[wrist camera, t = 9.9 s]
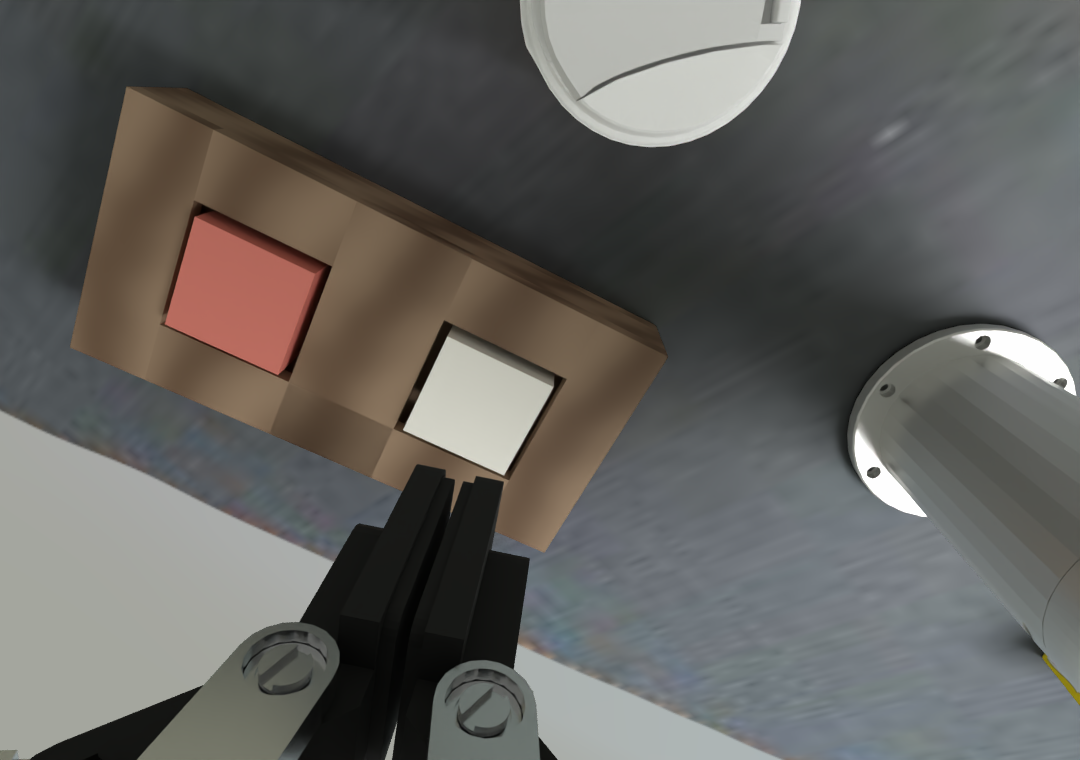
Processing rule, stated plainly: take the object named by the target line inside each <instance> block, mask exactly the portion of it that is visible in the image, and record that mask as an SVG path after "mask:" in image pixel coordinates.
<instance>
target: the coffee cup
mask: <svg viewBox="0 0 1080 760" xmlns="http://www.w3.org/2000/svg"><path fill="white" fill-rule="evenodd" d="M800 5H801V0H520V10H521V24H522V29H523V34H524V39H525V44H526V47H527V49H528V51H529V53H530V54H531V56H532V58H533V60H534V61H535V63H536V65H537V67H538V68H539V70H540V72H541V74H542V76H543V78H544V80H545V82H546V83H547V85H548V87H549V89H550V90H551V91H552V93H553V94H554V95H555V97H556V98H557V100H558V101H559V102H560V104H561V105H562V106H563V107H564V108H565V109H566V110H567V111H568V112H569V113H570V114H571V115H572V116H573V117H574V118H575V119H576V120H578V121H579V122H581V123H582V124H584V125H585V126H586V127H588V128H589V129H591V130H592V131H594V132H596V133H598V134H600V135H602V136H604V137H606V138H608V139H611V140H614V141H617V142H621V143H624V144H628V145H634V146H643V147H662V146H672V145H677V144H681V143H686V142H690V141H693V140H695V139H698V138H700V137H703V136H705V135H708V134H710V133H712V132H713V131H715V130H717V129H719V128H720V127H722V126H724V125H725V124H727V123H729V122H730V121H731V120H732V119H734V118H735V117H736V116H737V115H739V114H740V113H741V112H742V111H744V110H745V109H746V108H747V107H748V106H749V105H750V104H751V103H752V102H753V101H754V100H755V99H756V97H757V96H758V95H759V94H760V93H761V92H762V91H763V89H764V88H765V87H766V85H767V84H768V82H769V81H770V80H771V78H772V77H773V75H774V74H775V72H776V70H777V69H778V67H779V65H780V63H781V61H782V59H783V57H784V55H785V54H786V52H787V49H788V46H789V44H790V41H791V38H792V36H793V33H794V30H795V27H796V22H797V18H798V14H799V9H800Z"/></svg>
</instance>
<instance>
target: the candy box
mask: <svg viewBox="0 0 1080 760" xmlns="http://www.w3.org/2000/svg"><path fill="white" fill-rule="evenodd" d="M1042 658H1043V660H1044V661H1045V662H1046V664H1047V665H1048V666H1049V667H1050V669H1051V670H1052V671H1053V672H1054V674H1055V675H1056V676H1057V677H1058V679H1059V680H1060V681H1061V682H1062V683H1063V685H1064V686H1065V687H1066V689H1067V690H1068V691H1069V693H1070V694H1071V695H1072V696H1073V698H1074V699H1075V700H1076V701H1077V703H1078V704H1079V705H1080V693H1079V692H1078V691H1077V690H1076V689H1075V688H1074V686H1073V685H1072V684H1071V683H1070V682H1069V681H1068V680H1067V678H1066V677H1065V676H1064V675H1063V674H1062V673H1061V672H1060V670H1059V669H1058V668H1057V667H1056V666H1055V664H1054V663H1053V662H1052V661H1051V660H1050V659H1049V657H1048V656H1047V655H1046V654H1045V653H1044V654H1043V656H1042Z"/></svg>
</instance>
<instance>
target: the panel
mask: <svg viewBox="0 0 1080 760" xmlns="http://www.w3.org/2000/svg"><path fill="white" fill-rule="evenodd" d="M214 210H216V211H218V212H220V213H222V214H224V215H226V216H228V217H230V218H232V219H234V220H236V221H239V222H241V223H243V224H245V225H247V226H249V227H251V228H253V229H255V230H257V231H259V232H261V233H264V234H266V235H268V236H270V237H272V238H274V239H276V240H278V241H280V242H282V243H284V244H286V245H289V246H291V247H293V248H295V249H297V250H299V251H301V252H303V253H305V254H307V255H309V256H311V257H313V258H316V259H318V260H320V261H322V262H324V263H326V264H328V265H330V266H332V269H331V272H330V274H329V277H328V280H327V282H326V285H325V288H324V290H323V293H322V296H321V298H320V301H319V304H318V306H317V309H316V311H315V314H314V317H313V319H312V322H311V325H310V327H309V330H308V333H307V335H306V338H305V341H304V343H303V346H302V349H301V351H300V354H299V355H298V356H297V357H296V358H295V359H294V360H293V361H292V362H291V363H290V364H289V365H288V366H287V367H286V368H285V369H284V370H283V371H282V372H281V373H280V374H279V375H277V374H275V373H272V372H270V371H268V370H266V369H263V368H261V367H259V366H257V365H254V364H252V363H250V362H248V361H246V360H243V359H241V358H239V357H237V356H234V355H232V354H230V353H228V352H225V351H223V350H221V349H219V348H217V347H214V346H212V345H210V344H208V343H205V342H203V341H201V340H199V339H196V338H194V337H192V336H190V335H188V334H185V333H183V332H181V331H179V330H176V329H174V328H172V327H170V326H167V325H165V322H166V318H167V315H168V311H169V307H170V304H171V300H172V297H173V293H174V289H175V286H176V282H177V279H178V275H179V271H180V268H181V264H182V261H183V257H184V253H185V250H186V246H187V243H188V239H189V235H190V232H191V228H192V225H193V221H194V218H195V216H198V215H202V214H205V213H208V212H211V211H214ZM453 325H455V326H457V327H459V328H461V329H463V330H465V331H468V332H470V333H472V334H474V335H476V336H478V337H480V338H482V339H484V340H486V341H488V342H490V343H493V344H495V345H497V346H499V347H501V348H503V349H505V350H507V351H509V352H511V353H513V354H515V355H518V356H520V357H522V358H524V359H526V360H528V361H530V362H532V363H534V364H536V365H538V366H540V367H542V368H545V369H547V370H549V371H551V372H553V373H554V388H553V389H552V391H551V393H550V395H549V396H548V398H547V400H546V402H545V404H544V405H543V407H542V409H541V411H540V412H539V414H538V416H537V418H536V419H535V421H534V423H533V425H532V427H531V428H530V430H529V432H528V434H527V435H526V437H525V439H524V441H523V442H522V444H521V446H520V448H519V450H518V451H517V453H516V455H515V457H514V458H513V460H512V462H511V464H510V465H509V467H508V469H507V471H506V473H505V474H504V475H502V474H500V473H497V472H495V471H493V470H491V469H488V468H486V467H484V466H482V465H480V464H477V463H475V462H473V461H471V460H468V459H466V458H464V457H462V456H459V455H457V454H455V453H453V452H451V451H448V450H446V449H444V448H442V447H439V446H437V445H435V444H433V443H430V442H428V441H426V440H424V439H422V438H419V437H417V436H415V435H413V434H410V433H408V432H406V431H404V430H403V429H404V427H405V425H406V423H407V421H408V419H409V416H410V414H411V412H412V410H413V408H414V406H415V404H416V402H417V400H418V397H419V395H420V393H421V391H422V389H423V387H424V385H425V383H426V381H427V378H428V376H429V374H430V372H431V370H432V368H433V366H434V364H435V362H436V359H437V357H438V355H439V353H440V351H441V349H442V347H443V345H444V343H445V340H446V338H447V336H448V334H449V332H450V330H451V328H452V326H453ZM70 348H73V349H75V350H77V351H80V352H82V353H84V354H87V355H89V356H91V357H94V358H96V359H98V360H100V361H103V362H105V363H107V364H110V365H112V366H114V367H117V368H119V369H121V370H124V371H126V372H128V373H130V374H133V375H135V376H137V377H140V378H142V379H144V380H147V381H149V382H151V383H154V384H156V385H158V386H161V387H163V388H165V389H167V390H170V391H172V392H174V393H177V394H179V395H181V396H184V397H186V398H188V399H191V400H193V401H195V402H197V403H200V404H202V405H204V406H207V407H209V408H211V409H214V410H216V411H218V412H221V413H223V414H225V415H227V416H230V417H232V418H234V419H237V420H239V421H241V422H244V423H246V424H248V425H251V426H253V427H255V428H258V429H260V430H262V431H264V432H267V433H269V434H271V435H274V436H276V437H278V438H281V439H283V440H285V441H288V442H290V443H292V444H294V445H297V446H299V447H301V448H304V449H306V450H308V451H311V452H313V453H315V454H318V455H320V456H322V457H324V458H327V459H329V460H331V461H334V462H336V463H338V464H341V465H343V466H345V467H348V468H350V469H352V470H355V471H357V472H359V473H361V474H364V475H366V476H368V477H371V478H373V479H375V480H378V481H380V482H382V483H385V484H387V485H389V486H391V487H394V488H396V489H398V490H401V491H403V490H404V488H405V486H406V484H407V482H408V480H409V478H410V476H411V474H412V472H413V470H414V468H415V466H416V465H417V464H421V465H426V466H430V467H435V468H440V469H445V470H446V478H451V479H455V486H454V492H453V499H452V505H451V512H452V511H453V508H454V505H455V503H456V500H457V497H458V494H459V492H460V489H461V486H462V483H463V481H466V482H471V483H474V480H475V477H476V476H480V477H485V478H490V479H494V480H499V481H504V485H503V491H502V496H501V501H500V507H499V512H498V517H497V522H496V528H495V532H498V533H500V534H502V535H505V536H507V537H509V538H512V539H514V540H516V541H519V542H521V543H523V544H525V545H528V546H530V547H532V548H535V549H537V550H539V551H542V552H545V551H546V549H547V548H548V546H549V544H550V543H551V541H552V540H553V538H554V537H555V535H556V533H557V532H558V530H559V529H560V527H561V525H562V524H563V522H564V521H565V519H566V518H567V516H568V514H569V513H570V511H571V510H572V508H573V506H574V505H575V503H576V502H577V500H578V499H579V497H580V495H581V494H582V492H583V491H584V489H585V488H586V486H587V484H588V483H589V481H590V480H591V478H592V476H593V475H594V473H595V472H596V470H597V469H598V467H599V465H600V464H601V462H602V461H603V459H604V458H605V456H606V454H607V453H608V451H609V450H610V448H611V446H612V445H613V443H614V442H615V440H616V439H617V437H618V435H619V434H620V432H621V431H622V429H623V427H624V426H625V424H626V423H627V421H628V420H629V418H630V416H631V415H632V413H633V412H634V410H635V409H636V407H637V405H638V404H639V402H640V401H641V399H642V397H643V396H644V394H645V393H646V391H647V390H648V388H649V386H650V385H651V383H652V382H653V380H654V378H655V377H656V375H657V374H658V372H659V371H660V369H661V367H662V366H663V364H664V363H665V361H666V360H667V358H668V355H667V352H666V350H665V347H664V345H663V342H662V340H661V337H660V335H659V332H658V330H657V327H656V325H654V324H652V323H650V322H648V321H646V320H644V319H642V318H640V317H638V316H636V315H634V314H632V313H630V312H628V311H626V310H624V309H622V308H620V307H618V306H616V305H615V304H613V303H611V302H609V301H607V300H605V299H603V298H601V297H599V296H597V295H595V294H593V293H591V292H589V291H587V290H585V289H583V288H581V287H579V286H577V285H575V284H573V283H571V282H569V281H567V280H565V279H563V278H561V277H559V276H557V275H555V274H553V273H551V272H549V271H547V270H545V269H543V268H541V267H539V266H537V265H535V264H533V263H531V262H530V261H528V260H526V259H524V258H522V257H520V256H518V255H516V254H514V253H512V252H510V251H508V250H506V249H504V248H502V247H500V246H498V245H496V244H494V243H492V242H490V241H488V240H486V239H484V238H482V237H480V236H478V235H476V234H474V233H472V232H470V231H468V230H466V229H464V228H462V227H460V226H458V225H456V224H454V223H452V222H450V221H448V220H446V219H445V218H443V217H441V216H439V215H437V214H435V213H433V212H431V211H429V210H427V209H425V208H423V207H421V206H419V205H417V204H415V203H413V202H411V201H409V200H407V199H405V198H403V197H401V196H399V195H397V194H395V193H393V192H391V191H389V190H387V189H385V188H383V187H381V186H379V185H377V184H375V183H373V182H371V181H369V180H367V179H365V178H363V177H361V176H360V175H358V174H356V173H354V172H352V171H350V170H348V169H346V168H344V167H342V166H340V165H338V164H336V163H334V162H332V161H330V160H328V159H326V158H324V157H322V156H320V155H318V154H316V153H314V152H312V151H310V150H308V149H306V148H304V147H302V146H300V145H298V144H296V143H294V142H292V141H290V140H288V139H286V138H284V137H282V136H280V135H278V134H276V133H275V132H273V131H271V130H269V129H267V128H265V127H263V126H261V125H259V124H257V123H255V122H253V121H251V120H249V119H247V118H245V117H243V116H241V115H239V114H237V113H235V112H233V111H231V110H229V109H227V108H225V107H223V106H221V105H219V104H217V103H215V102H213V101H211V100H209V99H207V98H205V97H203V96H201V95H199V94H197V93H195V92H193V91H191V90H190V89H188V88H166V87H128V86H127V87H126V92H125V96H124V101H123V105H122V110H121V115H120V119H119V124H118V128H117V133H116V138H115V142H114V147H113V151H112V156H111V161H110V165H109V170H108V174H107V179H106V184H105V188H104V193H103V197H102V202H101V207H100V211H99V216H98V220H97V225H96V230H95V234H94V239H93V243H92V248H91V253H90V257H89V262H88V266H87V271H86V276H85V280H84V285H83V289H82V294H81V299H80V303H79V308H78V312H77V317H76V322H75V326H74V331H73V335H72V340H71V345H70Z"/></svg>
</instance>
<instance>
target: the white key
mask: <svg viewBox="0 0 1080 760" xmlns="http://www.w3.org/2000/svg"><path fill="white" fill-rule="evenodd" d="M553 388H554V373H553V372H551V371H549V370H547V369H545V368H542V367H540V366H538V365H536V364H534V363H532V362H530V361H528V360H526V359H524V358H522V357H520V356H518V355H515V354H513V353H511V352H509V351H507V350H505V349H503V348H501V347H499V346H497V345H495V344H493V343H490V342H488V341H486V340H484V339H482V338H480V337H478V336H476V335H474V334H472V333H470V332H468V331H465V330H463V329H461V328H459V327H457V326H455V325H453V326H452V328H451V330H450V332H449V334H448V336H447V338H446V340H445V343H444V345H443V347H442V349H441V351H440V353H439V355H438V357H437V359H436V362H435V364H434V366H433V368H432V370H431V372H430V374H429V376H428V378H427V381H426V383H425V385H424V387H423V389H422V391H421V393H420V395H419V397H418V400H417V402H416V404H415V406H414V408H413V410H412V412H411V414H410V416H409V419H408V421H407V423H406V425H405V427H404V429H403V430H404V431H406V432H408V433H410V434H413V435H415V436H417V437H419V438H422V439H424V440H426V441H428V442H430V443H433V444H435V445H437V446H439V447H442V448H444V449H446V450H448V451H451V452H453V453H455V454H457V455H459V456H462V457H464V458H466V459H468V460H471V461H473V462H475V463H477V464H480V465H482V466H484V467H486V468H488V469H491V470H493V471H495V472H497V473H500V474H502V475H504V474H505V473H506V471H507V469H508V467H509V465H510V464H511V462H512V460H513V458H514V457H515V455H516V453H517V451H518V450H519V448H520V446H521V444H522V442H523V441H524V439H525V437H526V435H527V434H528V432H529V430H530V428H531V427H532V425H533V423H534V421H535V419H536V418H537V416H538V414H539V412H540V411H541V409H542V407H543V405H544V404H545V402H546V400H547V398H548V396H549V395H550V393H551V391H552V389H553Z"/></svg>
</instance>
